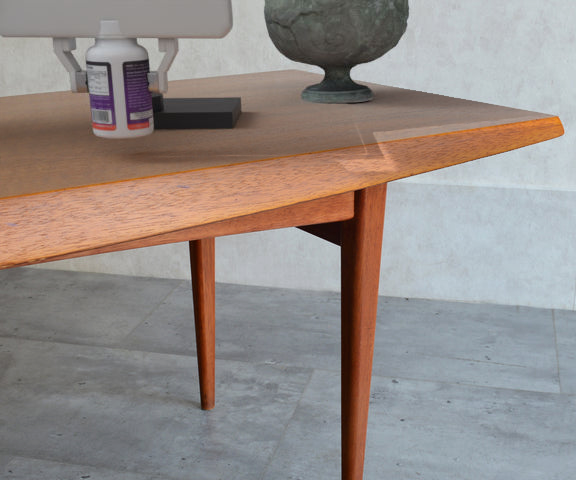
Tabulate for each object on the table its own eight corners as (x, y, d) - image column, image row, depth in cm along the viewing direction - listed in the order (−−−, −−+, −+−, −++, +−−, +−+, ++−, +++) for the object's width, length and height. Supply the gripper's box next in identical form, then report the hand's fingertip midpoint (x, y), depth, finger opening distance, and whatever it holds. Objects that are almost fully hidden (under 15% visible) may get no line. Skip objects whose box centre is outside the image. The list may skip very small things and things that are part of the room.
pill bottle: (152, 127, 69) (145, 18, 66) (155, 138, 64) (148, 20, 61) (93, 129, 68) (82, 18, 65) (92, 140, 63) (80, 20, 60)
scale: (105, 131, 81) (101, 98, 79) (130, 114, 92) (127, 85, 91) (232, 130, 80) (231, 97, 79) (241, 112, 92) (240, 83, 90)
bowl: (359, 87, 115) (361, -17, 109) (433, 101, 98) (440, -20, 93) (242, 95, 107) (238, -16, 101) (301, 113, 91) (300, -19, 85)
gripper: (236, -79, 62) (240, 88, 68) (-3, -80, 63) (19, 87, 68) (230, -86, 57) (234, 98, 62) (-34, -87, 57) (-8, 96, 62)
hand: (119, 92), depth 65 cm, fingers closed on pill bottle, 5 cm apart
